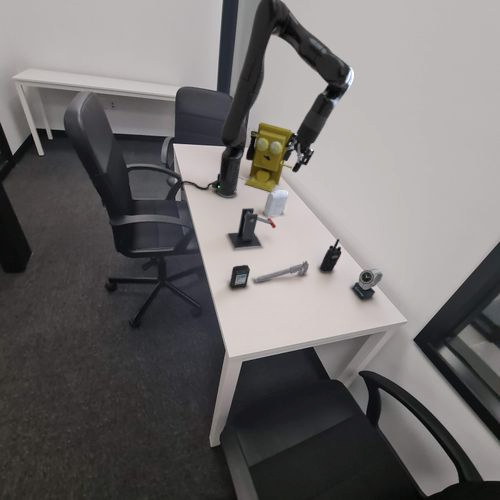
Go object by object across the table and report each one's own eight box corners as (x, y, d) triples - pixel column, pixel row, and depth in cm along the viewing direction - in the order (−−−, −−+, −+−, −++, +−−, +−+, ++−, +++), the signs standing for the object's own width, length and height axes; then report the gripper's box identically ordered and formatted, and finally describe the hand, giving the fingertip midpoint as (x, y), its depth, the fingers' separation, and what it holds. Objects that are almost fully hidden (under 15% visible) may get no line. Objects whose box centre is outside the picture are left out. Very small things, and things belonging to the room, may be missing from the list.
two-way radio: (321, 273, 99) (336, 241, 90) (316, 265, 102) (330, 233, 93) (333, 272, 100) (350, 241, 91) (328, 264, 104) (343, 233, 94)
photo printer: (278, 210, 131) (285, 187, 123) (283, 214, 128) (290, 191, 121) (262, 213, 125) (267, 189, 118) (267, 218, 123) (273, 194, 115)
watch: (347, 289, 94) (361, 267, 88) (364, 285, 98) (378, 263, 91) (358, 301, 90) (372, 279, 84) (374, 297, 94) (390, 275, 87)
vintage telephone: (229, 179, 148) (237, 123, 129) (237, 171, 158) (245, 118, 140) (282, 195, 144) (298, 139, 125) (287, 186, 155) (302, 133, 136)
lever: (268, 222, 107) (271, 217, 106) (273, 229, 104) (277, 224, 103) (242, 214, 100) (245, 208, 99) (247, 221, 96) (250, 216, 95)
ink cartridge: (231, 289, 84) (235, 271, 80) (229, 284, 86) (233, 266, 81) (246, 287, 86) (250, 269, 81) (243, 282, 88) (247, 264, 83)
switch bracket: (252, 233, 111) (259, 205, 102) (260, 247, 104) (268, 217, 96) (227, 235, 107) (232, 206, 98) (234, 249, 100) (240, 219, 92)
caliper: (304, 272, 97) (309, 259, 93) (305, 274, 97) (311, 261, 93) (253, 280, 89) (257, 267, 85) (255, 283, 89) (258, 269, 85)
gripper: (295, 114, 97) (274, 154, 106) (314, 131, 88) (289, 173, 97) (309, 121, 101) (288, 159, 110) (329, 138, 92) (304, 177, 102)
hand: (289, 165), depth 104 cm, fingers open, 8 cm apart
